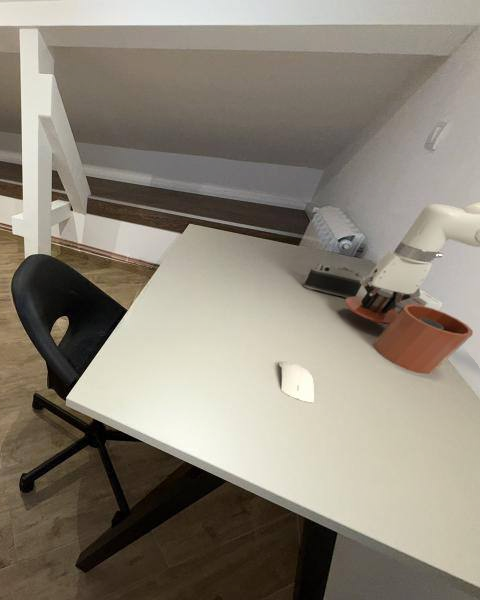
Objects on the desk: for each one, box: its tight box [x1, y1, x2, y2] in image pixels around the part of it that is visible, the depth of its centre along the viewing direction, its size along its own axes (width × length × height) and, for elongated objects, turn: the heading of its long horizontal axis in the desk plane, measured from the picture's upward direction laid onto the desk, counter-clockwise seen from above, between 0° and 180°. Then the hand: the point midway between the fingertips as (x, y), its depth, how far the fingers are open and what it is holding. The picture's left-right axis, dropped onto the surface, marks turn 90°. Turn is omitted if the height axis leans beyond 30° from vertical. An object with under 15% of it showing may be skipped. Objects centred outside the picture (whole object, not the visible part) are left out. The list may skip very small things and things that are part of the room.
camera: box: [303, 263, 364, 299], centre depth 110 cm, size 16×9×10 cm, turn 68°
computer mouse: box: [278, 361, 315, 403], centre depth 72 cm, size 7×12×2 cm, turn 156°
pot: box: [373, 304, 474, 375], centre depth 80 cm, size 13×13×13 cm
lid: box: [344, 289, 398, 326], centre depth 92 cm, size 14×14×7 cm
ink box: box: [392, 288, 444, 313], centre depth 93 cm, size 9×5×12 cm, turn 179°
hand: (373, 307), depth 93 cm, fingers closed on lid, 4 cm apart
